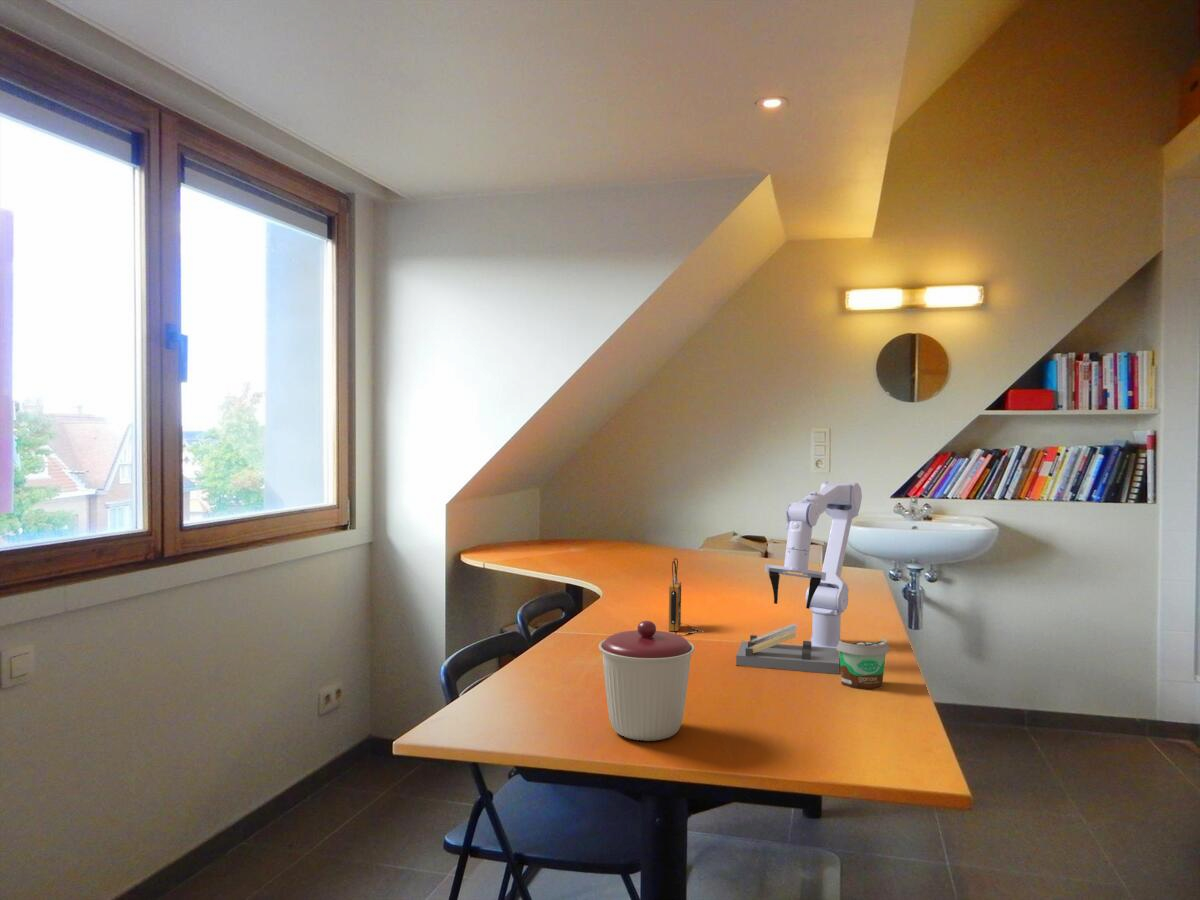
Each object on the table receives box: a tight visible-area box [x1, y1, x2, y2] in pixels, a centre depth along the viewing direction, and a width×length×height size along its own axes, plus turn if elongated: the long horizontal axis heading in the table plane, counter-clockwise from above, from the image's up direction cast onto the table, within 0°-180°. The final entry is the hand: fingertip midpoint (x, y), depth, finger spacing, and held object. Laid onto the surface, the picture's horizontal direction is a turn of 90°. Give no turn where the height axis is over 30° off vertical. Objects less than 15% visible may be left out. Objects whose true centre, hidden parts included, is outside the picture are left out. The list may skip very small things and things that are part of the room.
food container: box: [836, 637, 890, 691], centre depth 189 cm, size 12×6×10 cm, turn 105°
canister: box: [598, 620, 696, 742], centre depth 160 cm, size 18×18×21 cm
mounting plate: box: [735, 634, 840, 675], centre depth 208 cm, size 14×24×4 cm, turn 75°
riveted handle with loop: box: [668, 557, 704, 635], centre depth 239 cm, size 15×10×20 cm
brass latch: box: [749, 630, 797, 653], centre depth 205 cm, size 12×4×1 cm, turn 74°
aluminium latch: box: [751, 622, 798, 645], centre depth 213 cm, size 12×4×1 cm, turn 74°
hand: (791, 606), depth 206 cm, fingers open, 7 cm apart
